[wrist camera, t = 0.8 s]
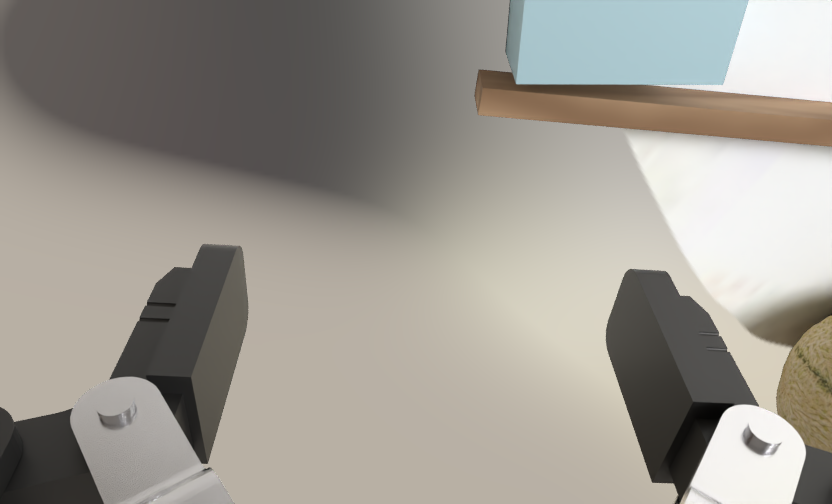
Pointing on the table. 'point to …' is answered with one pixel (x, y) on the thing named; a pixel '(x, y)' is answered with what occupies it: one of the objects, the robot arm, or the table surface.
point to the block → (622, 41)
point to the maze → (657, 109)
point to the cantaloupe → (809, 387)
